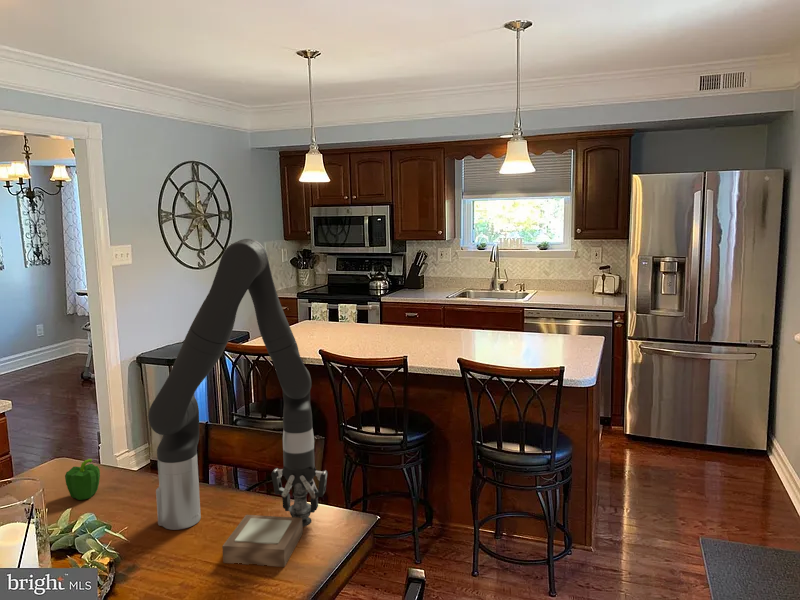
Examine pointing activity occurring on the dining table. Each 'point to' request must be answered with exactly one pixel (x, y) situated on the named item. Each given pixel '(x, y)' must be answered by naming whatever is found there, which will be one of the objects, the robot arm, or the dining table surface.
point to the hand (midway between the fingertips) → (300, 510)
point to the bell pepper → (83, 480)
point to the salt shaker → (300, 505)
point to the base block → (263, 540)
